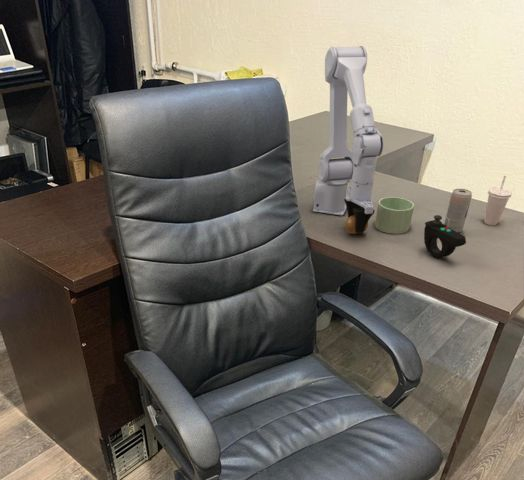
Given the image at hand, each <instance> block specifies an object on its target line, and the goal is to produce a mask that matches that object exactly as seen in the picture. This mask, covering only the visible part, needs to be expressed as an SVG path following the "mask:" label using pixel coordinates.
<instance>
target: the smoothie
mask: <svg viewBox="0 0 524 480" xmlns="http://www.w3.org/2000/svg"><path fill="white" fill-rule="evenodd" d="M506 178H507V175H503V177H502V180H501V184H500V187H490V188H489V189H488V191H487V194H488V197H487V202H486V209H485V214H484V215H485V216H484V224H486V225H489V226H497V225H498V224H499V221H500V220H501V216H502V214H503V213H504V210H505V208H506V206H507V203H508V202H509V200H510V198H511V197H512V194H513V193H512V191H511V190H509V189H508V188H504V184H505V182H506Z"/></svg>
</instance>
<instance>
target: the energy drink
mask: <svg viewBox="0 0 524 480" xmlns="http://www.w3.org/2000/svg"><path fill="white" fill-rule="evenodd" d="M472 194H473V192H472V191H471V190H469V189H466V188H455V189H453V191H452V192H451V195H450V199H449V203H448V207H447V212H446V215H445V219H444V223H443V224H444V225H446V226H448V227H449V228H450V229H452V230H454V231H456V232H458V233H459V234H461V235H462V233H463V231H464V227H465V224H466V218H467V216H468V212H469V209H470V205H471V201H472V197H473V195H472Z"/></svg>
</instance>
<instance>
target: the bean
mask: <svg viewBox="0 0 524 480" xmlns="http://www.w3.org/2000/svg"><path fill="white" fill-rule="evenodd" d="M343 225H344V226H343V227H344V230H345V231H346V232H347V233H349V234H351V235H353V234H354V235H355V234H356V235H357V233H356V231H355V215H353V216H350V217H348V216H347V218H346V219H345V221H344V224H343ZM368 228H369V221H368V222H367V225H366V227H365V229H364V231H363V232H362V233H361V234H363V233H365V232H366V231H367V229H368Z"/></svg>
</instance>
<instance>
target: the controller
mask: <svg viewBox="0 0 524 480" xmlns="http://www.w3.org/2000/svg"><path fill="white" fill-rule="evenodd" d="M442 219H443V216H442V215H439V214H435V215H434V216H433V220H427V221H425V223H424V225H425V226H424V229H423V230H424V232H423V243H424V246H425V249H426V251H427V252H428V253H429V254H430V255H431V256H433V257H435V258H440V259H441V258H445V257H448V256H451V255H452V254H453V253H454V252H455V250H456V249H457V247H458V248H459V247H462V246H464V245H466V243H467V240H466V236H465V235H463V234H462V233H461V234H459V233H458V232H456V231H454V230H452V229H450V228H449V227H448V226H446V225H444V223H443V222H442V221H441V220H442ZM438 240H439V241H440V243H441V249H440V248H439V246H438Z"/></svg>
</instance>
